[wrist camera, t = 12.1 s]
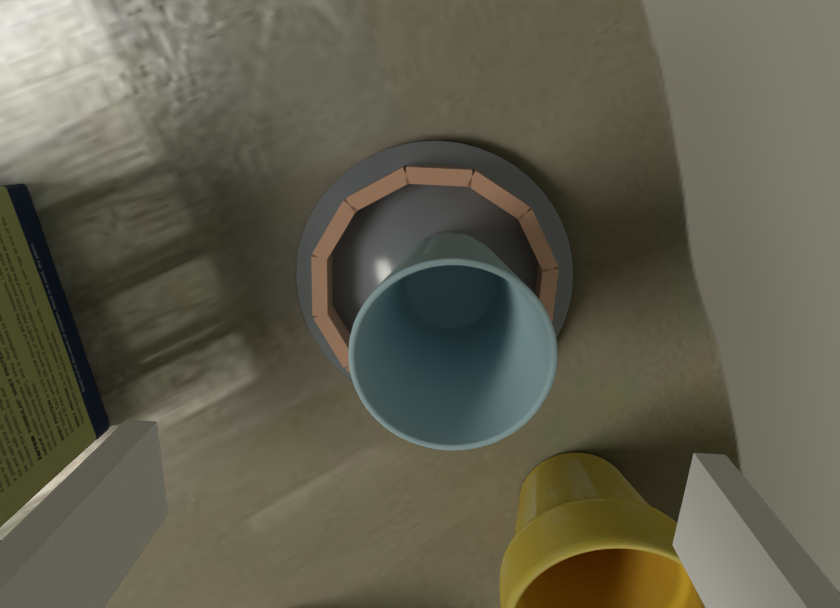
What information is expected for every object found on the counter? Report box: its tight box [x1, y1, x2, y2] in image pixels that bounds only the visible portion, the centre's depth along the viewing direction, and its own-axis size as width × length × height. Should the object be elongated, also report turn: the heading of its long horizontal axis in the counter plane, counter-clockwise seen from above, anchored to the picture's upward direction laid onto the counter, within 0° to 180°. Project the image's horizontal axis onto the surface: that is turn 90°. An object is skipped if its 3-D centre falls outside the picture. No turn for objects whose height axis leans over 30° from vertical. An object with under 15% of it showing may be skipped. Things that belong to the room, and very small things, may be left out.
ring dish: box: [296, 140, 573, 381], centre depth 30 cm, size 15×15×2 cm
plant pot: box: [500, 453, 705, 608], centre depth 31 cm, size 10×10×10 cm
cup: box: [348, 232, 558, 450], centre depth 26 cm, size 8×8×10 cm
